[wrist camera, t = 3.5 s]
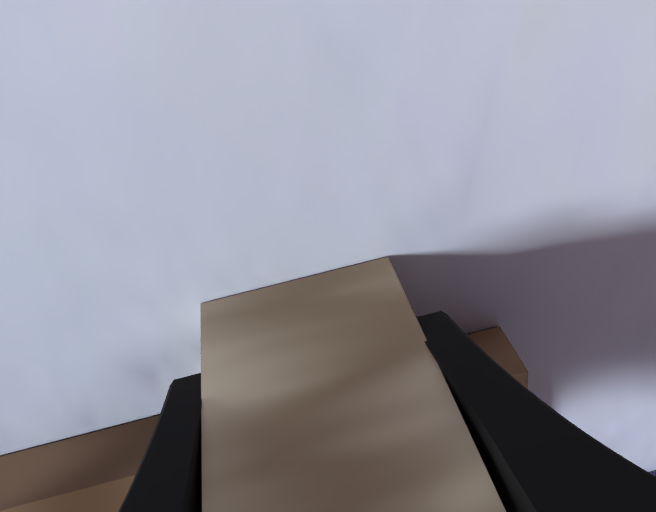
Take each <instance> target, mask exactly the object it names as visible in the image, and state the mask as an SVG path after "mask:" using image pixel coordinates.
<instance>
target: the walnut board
mask: <svg viewBox="0 0 656 512" xmlns="http://www.w3.org/2000/svg"><path fill="white" fill-rule="evenodd" d="M467 336H468V337H469V338H470V339H471V340H473V341H474V342H475V343H476V344H477V345H478V346H479V347H480V348H481V349H482V350H483V351H484V352H485V353H486V354H487V355H488V356H490V357H491V358H492V359H493V360H494V361H495V362H496V363H497V364H498V365H500V366H501V367H502V368H503V369H504V370H505V371H507V372H508V373H509V374H510V375H511V376H512V377H514V378H515V379H516V380H517V381H518V382H519V383H521V384H522V385H523V386H524V387H525V388H527V377H528V371H527V369H526V368H525V366H524V364H523V363H522V361H521V360H520V358H519V356H518V355H517V353H516V352H515V350H514V349H513V347H512V345H511V344H510V342H509V341H508V339H507V337H506V336H505V334H504V333H503V331H502V330H501V328H500V326H499V327H495V328H491V329H487V330H483V331H479V332H476V333H472V334H468V335H467ZM159 416H160V415H158V416H154V417H150V418H146V419H142V420H138V421H135V422H131V423H127V424H123V425H119V426H116V427H112V428H108V429H104V430H100V431H96V432H93V433H89V434H85V435H81V436H77V437H73V438H70V439H66V440H62V441H58V442H54V443H50V444H47V445H43V446H39V447H35V448H31V449H27V450H24V451H20V452H16V453H12V454H8V455H4V456H1V457H0V512H118V511H119V509H120V507H121V505H122V503H123V501H124V499H125V497H126V495H127V493H128V491H129V488H130V486H131V484H132V482H133V480H134V477H135V475H136V473H137V470H138V468H139V466H140V463H141V461H142V458H143V456H144V454H145V451H146V449H147V447H148V444H149V442H150V439H151V437H152V434H153V432H154V429H155V427H156V424H157V421H158V419H159Z"/></svg>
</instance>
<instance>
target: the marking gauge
mask: <svg viewBox="0 0 656 512" xmlns="http://www.w3.org/2000/svg"><path fill="white" fill-rule="evenodd" d="M425 341H427V340H426V337H425V335H424V333H423V331H422V329H421V327H420V324H419V322H418V320H417V318H416V316H415V314H414V311H413V309H412V307H411V305H410V303H409V301H408V299H407V296H406V294H405V292H404V290H403V288H402V286H401V283H400V281H399V279H398V277H397V275H396V273H395V270H394V268H393V266H392V264H391V262H390V260H389V257H385V258H381V259H377V260H373V261H369V262H365V263H361V264H357V265H353V266H349V267H345V268H341V269H337V270H333V271H329V272H325V273H321V274H317V275H313V276H309V277H305V278H301V279H297V280H293V281H289V282H285V283H281V284H277V285H273V286H269V287H265V288H261V289H257V290H253V291H249V292H245V293H241V294H237V295H233V296H229V297H225V298H221V299H217V300H213V301H209V302H205V303H201V399H202V408H201V434H202V512H506V510H505V508H504V506H503V504H502V502H501V499H500V497H499V495H498V493H497V491H496V489H495V486H494V484H493V482H492V480H491V478H490V476H489V474H488V471H487V469H486V467H485V465H484V463H483V461H482V458H481V456H480V454H479V452H478V450H477V448H476V445H475V443H474V441H473V439H472V437H471V435H470V432H469V430H468V428H467V426H466V424H465V422H464V420H463V417H462V415H461V413H460V411H459V409H458V407H457V404H456V402H455V400H454V398H453V396H452V394H451V391H450V389H449V387H448V385H447V383H446V381H445V378H444V376H443V374H442V372H441V370H440V368H439V365H438V364H437V362H436V360H435V359H434V357H433V355H432V354H431V352H430V350H429V349H428V347H427V346H426V343H425Z"/></svg>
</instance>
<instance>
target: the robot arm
mask: <svg viewBox="0 0 656 512" xmlns="http://www.w3.org/2000/svg"><path fill="white" fill-rule="evenodd" d="M416 318H417V320H418V322H419V324H420V327H421V329H422V331H423V333H424V335H425V337H426V340H427V341H425V343H426V346H427V347H428V349H429V350H430V352H431V354H432V355H433V357H434V359H435V360H436V362H437V364H438V365H439V368H440V370H441V372H442V374H443V376H444V378H445V381H446V383H447V385H448V387H449V389H450V391H451V394H452V396H453V398H454V400H455V402H456V404H457V407H458V409H459V411H460V413H461V415H462V417H463V420H464V422H465V424H466V426H467V428H468V430H469V432H470V435H471V437H472V439H473V441H474V443H475V445H476V448H477V450H478V452H479V454H480V456H481V458H482V461H483V463H484V465H485V467H486V469H487V471H488V474H489V476H490V478H491V480H492V482H493V484H494V486H495V489H496V491H497V493H498V495H499V497H500V499H501V502H502V504H503V506H504V508H505V510H506V512H656V476H654V475H652V474H650V473H649V472H647V471H645V470H643V469H642V468H640V467H638V466H637V465H635V464H634V463H632V462H630V461H629V460H627V459H625V458H624V457H622V456H621V455H619V454H617V453H616V452H614V451H613V450H611V449H609V448H608V447H606V446H605V445H603V444H602V443H600V442H599V441H597V440H596V439H594V438H593V437H591V436H590V435H588V434H587V433H585V432H584V431H582V430H581V429H580V428H578V427H577V426H575V425H574V424H572V423H571V422H570V421H568V420H567V419H566V418H564V417H563V416H561V415H560V414H559V413H557V412H556V411H555V410H554V409H552V408H551V407H550V406H548V405H547V404H546V403H544V402H543V401H542V400H540V399H539V398H538V397H537V396H535V395H534V394H533V393H532V392H530V391H529V390H528V389H527V388H525V387H524V386H523V385H522V384H521V383H519V382H518V381H517V380H516V379H515V378H514V377H512V376H511V375H510V374H509V373H508V372H507V371H505V370H504V369H503V368H502V367H501V366H500V365H498V364H497V363H496V362H495V361H494V360H493V359H492V358H491V357H490V356H488V355H487V354H486V353H485V352H484V351H483V350H482V349H481V348H480V347H479V346H478V345H477V344H476V343H475V342H474V341H473V340H471V339H470V338H469V337H468V336H467V335H466V334H465V333H464V332H463V331H462V330H461V329H460V328H459V327H458V325H457V324H456V323H455V322H454V321H453V320H452V319H451V318H450V317H449V316H448V315H447V314H446V313H444V312H442V311H439V312H435V313H432V314H428V315H424V316H420V317H416ZM201 408H202V399H201V373H199V374H195V375H191V376H187V377H183V378H179V379H176V380H174V381H173V382H172V384H171V385H170V387H169V390H168V393H167V396H166V399H165V402H164V405H163V408H162V410H161V413H160V416H159V419H158V421H157V424H156V427H155V429H154V432H153V434H152V437H151V439H150V442H149V444H148V447H147V449H146V451H145V454H144V456H143V458H142V461H141V463H140V466H139V468H138V470H137V473H136V475H135V477H134V480H133V482H132V484H131V486H130V488H129V491H128V493H127V495H126V497H125V499H124V501H123V503H122V505H121V507H120V509H119V511H118V512H202V434H201Z"/></svg>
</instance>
